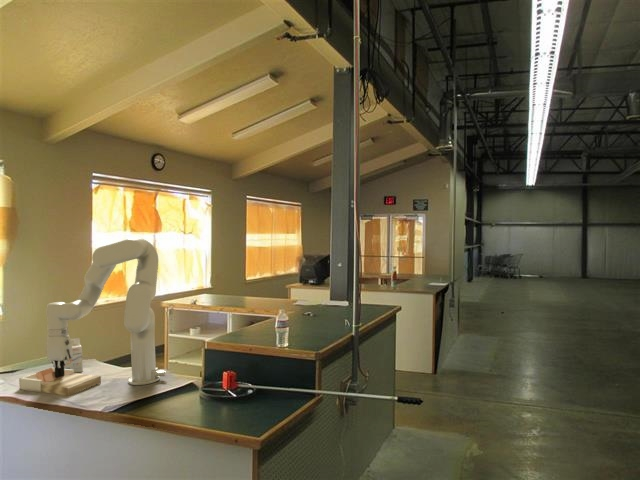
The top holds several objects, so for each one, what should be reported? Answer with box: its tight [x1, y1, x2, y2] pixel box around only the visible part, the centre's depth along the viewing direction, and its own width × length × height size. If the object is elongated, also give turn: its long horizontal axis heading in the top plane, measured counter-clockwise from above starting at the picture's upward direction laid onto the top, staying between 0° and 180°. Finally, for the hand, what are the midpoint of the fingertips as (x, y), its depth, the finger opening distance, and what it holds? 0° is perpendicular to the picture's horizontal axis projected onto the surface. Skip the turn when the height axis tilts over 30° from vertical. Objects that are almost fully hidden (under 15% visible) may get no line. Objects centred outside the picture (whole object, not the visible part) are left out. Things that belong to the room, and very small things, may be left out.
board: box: [40, 372, 102, 397], centre depth 201 cm, size 15×16×3 cm
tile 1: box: [36, 367, 53, 383], centre depth 206 cm, size 5×5×3 cm
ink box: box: [64, 337, 84, 373], centre depth 223 cm, size 8×5×15 cm, turn 123°
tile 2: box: [44, 371, 64, 383], centre depth 205 cm, size 5×5×3 cm
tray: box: [18, 367, 74, 393], centre depth 206 cm, size 12×16×4 cm
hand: (59, 376), depth 203 cm, fingers closed
